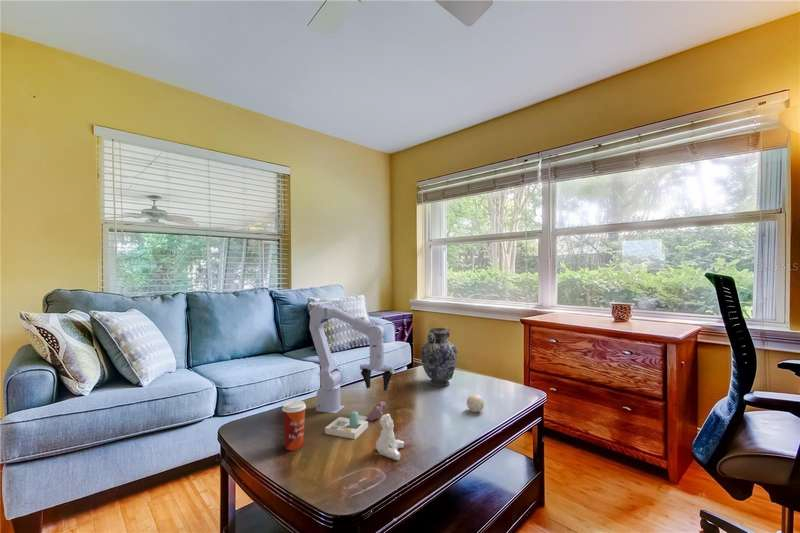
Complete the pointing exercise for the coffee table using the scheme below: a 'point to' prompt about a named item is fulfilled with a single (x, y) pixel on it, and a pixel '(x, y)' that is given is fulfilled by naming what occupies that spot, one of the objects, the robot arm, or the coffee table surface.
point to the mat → (362, 418)
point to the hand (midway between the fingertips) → (376, 388)
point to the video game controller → (377, 411)
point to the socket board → (345, 428)
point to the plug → (353, 419)
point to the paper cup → (294, 424)
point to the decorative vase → (439, 357)
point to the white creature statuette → (388, 439)
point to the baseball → (475, 403)
